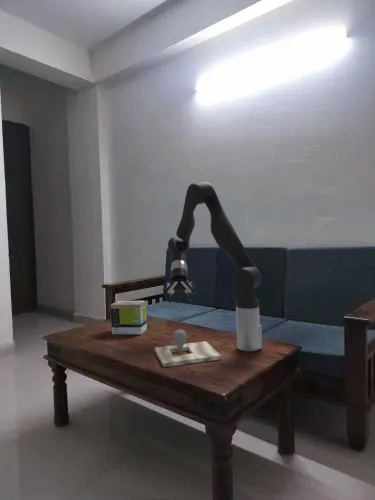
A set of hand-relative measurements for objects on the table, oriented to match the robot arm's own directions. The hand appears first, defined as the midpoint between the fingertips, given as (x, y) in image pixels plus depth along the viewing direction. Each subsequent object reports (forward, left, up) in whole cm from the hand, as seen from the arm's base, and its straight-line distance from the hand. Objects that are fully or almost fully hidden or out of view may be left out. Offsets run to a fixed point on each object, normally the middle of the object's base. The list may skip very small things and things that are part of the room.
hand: (179, 301), depth 153 cm
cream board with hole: (+1, +14, -18) cm, 23 cm away
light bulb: (+4, +13, -19) cm, 23 cm away
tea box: (+19, -27, -19) cm, 38 cm away
